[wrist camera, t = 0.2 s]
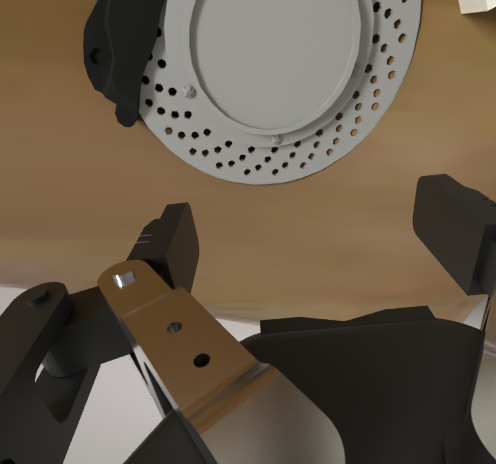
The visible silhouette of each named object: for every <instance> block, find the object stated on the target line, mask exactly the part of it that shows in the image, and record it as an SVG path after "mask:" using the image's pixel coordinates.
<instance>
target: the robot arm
mask: <svg viewBox="0 0 496 464" xmlns="http://www.w3.org/2000/svg"><path fill="white" fill-rule="evenodd" d="M413 228H414V231H415V233H416V235H417V236H418V237H419V239H420V240H421V241H422V242H423V243H424V245H425V246H426V247H427V248H428V249H429V251H430V252H431V253H432V254H433V255H434V256H435V258H436V259H437V260H438V261H439V262H440V264H441V265H442V266H443V267H444V268H445V269H446V271H447V272H448V273H449V274H450V275H451V277H452V278H453V279H454V280H455V281H456V283H457V284H458V285H459V286H460V287H461V288H462V290H463V291H464V292H465V293H466V294H467V296H469V295H480V294H488V295H489V297H488V300H487V304H486V307H485V311H484V315H483V319H482V323H481V328H480V330H479V329H477V328H474V327H472V326H468V325H466V324H462V323H459V322H455V321H450V320H445V319H439V318H435V317H434V315H433V314H432V312H431V311H430V309H429V308H428V306H418V307H407V308H395V309H385V310H382V311H378V312H375V313H371V314H368V315H365V316H361V317H358V318H355V319H351V320H348V321H336V320H326V319H316V318H306V317H294V318H283V319H271V320H260V328H261V333H258V334H255V335H252V336H250V337H248V338H245V339H244V340H242V341H240V342H238V341H237V340H236V339H235V338H234V337H233V336H232V335H231V334H230V333H229V332H228V331H227V330H226V329H225V328H224V327H223V326H222V325H221V324H220V323H219V322H218V321H217V320H216V319H215V318H214V317H213V316H212V315H211V314H210V313H209V312H208V311H207V310H206V309H205V308H204V307H203V306H202V305H201V304H200V303H199V302H198V301H197V300H196V299H195V298H194V297H193V296H192V295H191V294H190V293H191V289H192V285H193V280H194V276H195V272H196V267H197V263H198V259H199V242H198V237H197V233H196V229H195V224H194V220H193V216H192V211H191V208H190V205H189V203H188V202H186V203H178V204H169V205H167V206H166V208H165V210H164V212H163V214H162V216H161V218H160V219H154V220H153V221H152V222H150V223H149V224H148V225H147V226H145V227H144V229H143V231H142V233H141V235H140V237H139V238H138V240H137V243H136V244H135V245H134V247H133V249H132V251H131V253H130V254H129V256H128V258H127V260H126V261H124V262H121V263H118V264H115V265H113V266H111V267H110V268H108V269H107V270H105V271H104V272H103V273H102V274H101V275H100V277H99V279H98V286H97V287H94V288H90V289H87V290H84V291H80V292H77V293H74V294H70V295H69V293H68V291H67V289H66V287H65V285H64V284H62V283H59V282H49V283H44V284H40V285H38V286H35V287H33V288H30V289H28V290H27V291H25V292H23V293H22V294H20V295H19V296H18V297H16V299H14V300H13V301H12V302H11V304H10V305H9V306H8V307H7V308H6V310H5V311H4V312H3V313H2V315H1V316H0V464H63V461H64V459H65V456H66V454H67V451H68V448H69V446H70V443H71V441H72V438H73V436H74V433H75V430H76V428H77V425H78V423H79V420H80V417H81V415H82V412H83V409H84V407H85V404H86V402H87V399H88V397H89V394H90V391H91V389H92V386H93V384H94V381H95V378H96V376H97V373H98V371H99V368H100V365H101V364H102V363H105V362H108V361H111V360H114V359H117V358H119V357H122V356H125V355H129V357H130V359H131V361H132V363H133V364H134V366H135V368H136V370H137V372H138V373H139V375H140V377H141V379H142V380H143V382H144V384H145V386H146V387H147V389H148V391H149V393H150V394H151V396H152V398H153V400H154V402H155V404H156V406H157V408H158V410H159V412H160V414H161V416H162V418H163V420H162V421H161V422H160V423H159V424H158V425H157V426H156V428H155V429H154V430H153V431H152V432H151V433H150V434H149V435H148V436H147V438H146V439H145V440H144V441H143V442H142V443H141V444H140V445H139V446H138V448H137V449H136V450H135V451H134V452H133V453H132V454H131V456H129V457H128V459H127V460H126V461H125V462H124V463H123V464H496V203H495V202H494V201H492V200H489V198H488V197H486V196H485V195H483V194H482V193H480V192H479V191H476V190H474V189H471V188H468V187H465V186H463V185H461V184H460V183H458V182H457V181H456V180H454V179H453V178H451V177H450V176H448V175H447V174H438V175H429V176H422V177H420V178H419V180H418V183H417V189H416V197H415V204H414V212H413ZM41 363H42V365H43V366H44V368H43V370H42V371H41V373H40V375H39V377H38V379H37V380H36V382H35V377H36V373H37V370H38V368H39V366H40V364H41Z"/></svg>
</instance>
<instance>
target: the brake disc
mask: <svg viewBox="0 0 496 464" xmlns="http://www.w3.org/2000/svg"><path fill="white" fill-rule="evenodd" d="M375 2H377V3H378V5H379V9H378V11H377V12H374V11H373V5H374V3H375ZM387 9H390V13H391V15H390V16H389V17H388V18H387V19H385V16H384V13H385V10H387ZM420 10H421V0H406V2H404V3H402V0H98V1H97V3H96V5H95V7H94V9H93V11H92V13H91V15H90V17H89V18H88V20H87V22H86V25H85V29H84V42H83V48H84V64H85V67H86V70H87V74H88V77H89V79H90V81H91V83H92V85H93V86H94V88H95V90H97V91H100V92H102V93H103V95H104V96H105V97H106V98H107V99H109V100H110V101H112V102H114V103H115V104H117V105H116V111H115V114H116V117H117V120H118V122H119V123H120V124H122V125H123V126H125V127H131V126H133V125H134V123H135V122H136V120H137V119H138V117H139V115H141V117H142V118H143V120H144V121H145V123H146V125H147V126H148V128H149V129H150V130H151V131H152V132H153V133H154V134H155V135H156V136H157V137H158V138H159V139H160V140H161V141H162V142H163V143H164V144H165V145H166V146H167V148H168V149H169V150H171V151H172V152H173V153H175V154H176V155H177V156H178V157H180V158H181V159H182V160H184V161H185V162H187V163H188V164H190V165H192V166H194V167H195V168H197V169H199V170H201V171H203V172H205V173H208V174H210V175H212V176H215V177H218V178H221V179H225V180H228V181H232V182H239V183H246V184H253V185H258V184H273V183H283V182H288V181H292V180H296V179H300V178H303V177H305V176H308V175H310V174H313V173H315V172H318V171H320V170H323V169H324V168H326V167H327V166H329V165H330V164H332V163H334V162H335V161H337V160H338V159H340V158H342V157H343V156H345V155H346V154H347V153H349V152H350V151H351V150H352V149H353V148H354V147H355V146H357V145H358V144H359V143H360V142H361V141H362V140H363V139H364V138H365V137H366V136H367V135H368V134H369V133H370V132H371V131H372V130H373V129H374V127H375V126H376V125H377V123H378V122H379V120H380V119H381V117H382V116H383V115H384V113H385V112H386V110H387V109H388V107H389V106H390V104H391V103H392V102H393V100H394V98H395V96H396V94H397V92H398V90H399V88H400V85H401V83H402V81H403V79H404V77H405V75H406V73H407V70H408V67H409V64H410V61H411V58H412V56H413V51H414V46H415V41H416V37H417V32H418V27H419V22H420ZM398 19H399V21H400V25H399V27H398V28H397V29H395V28H394V22H395V21H397V20H398ZM161 32H162V35H161ZM402 33H403V34H404V35H405V39H404V41H403V42H402V43H400V42H399V40H398V38H399V36H400V35H401V34H402ZM375 34H377V35H378V41H377V42H375V43H372V37H373V36H374V35H375ZM383 44H386V45H387V48H386V51H385V52H383V53H382V52H381V51H380V50H381V46H382V45H383ZM390 56H392V57H393V62H392V63H391V64H390V65H387V59H388V58H389V57H390ZM160 59H163V60H165V62H166V67H164V68H161V67H160V66H159V64H158V61H159V60H160ZM368 64H370V66H371V68H370V70H369V71H368V72H367V73H365V68H366V66H367V65H368ZM391 71H394V73H395V76H394V77H393V78H392V79H389V78H388V73H389V72H391ZM372 76H376V78H377V81H376V82H375V83H373V84H372V83H371V82H370V79H371V78H372ZM147 77H148V78H149V80H150V82H149V83H148V84H146V78H147ZM156 84H161V85H162V86H163V90H162V91H161V92H160V91H158V90H156ZM169 88H175V89H176V90H177V93H176V94H175V95H171V94H170V93H169ZM376 89H380V94H379V96H377V97H374V94H373V92H374V91H375V90H376ZM355 91H358V96H357V97H356V98H353V97H352V96H353V94H354V92H355ZM146 99H151V100H152V102H153V105H152V106H149V105H147V104H146V103H145V101H146ZM357 103H361V104H362V106H361V109H360V110H355V106H356V104H357ZM374 103H378V104H379V107H378V109H377V110H375V111H374V110H372V108H371V106H372V105H373V104H374ZM158 107H162V108H164V109H165V113H164V114H160V113H158V110H157V108H158ZM172 111H178V113H179V117H178V118H177V117H173V116H172V114H171V113H172ZM186 111H190V112H191V113H192V116H191V118H188V117H185V115H184V113H185V112H186ZM339 112H340V113H342V115H341V118H339V119H337V120H336V118H335V116H336V115H337V114H338V113H339ZM358 116H361V120H362V121H361V122H360V123H358V124H356V123H355V118H356V117H358ZM338 125H341V126H342V129H341V130H340V131H336V127H337V126H338ZM166 127H171V128H172V130H173V132H172V134H171V133H167V132H166V130H165V129H166ZM207 128H208V129H209V130H211V133H210V135H205V133H204V129H207ZM319 129H322V133H321V134H320V135H316V132H317V131H318V130H319ZM353 129H357V134H356V135H355V136H351V134H350V132H351V131H352V130H353ZM179 132H184V133H185V135H186V136H185V137H184V138H181V137H179V135H178V133H179ZM192 132H197V133H198V134H199V137H197V138H194V137H192ZM335 138H339V143H337V144H333V140H334V139H335ZM228 140H229V141H232V145H231V146H230V147H229V146H226V145H225V142H226V141H228ZM297 141H301V142H300V145H299V146H297V147H296V146H294V144H295V142H297ZM316 141H319V142H320V143H319V146H317V147H314V143H315V142H316ZM217 146H219V147H221V148H222V149H221V151H220V152H216V151H215V150H214V148H215V147H217ZM251 146H252V147H254V148H255V150H254V151H253V152H249V151H248V148H249V147H251ZM272 147H278V150H277V151H276V152H272V151H271V149H272ZM191 148H194V149H196V150H197V152H196V153H195V154H192V153H190V149H191ZM206 149H207V150H208V151H209V153H208V155H207V156H206V155H204V154H203V153H202V151H203V150H206ZM328 149H332V150H333V152H332V153H331V154H330V155H327V152H326V151H327V150H328ZM291 152H295V153H296V155H295V156H294V157H290V156H289V155H290V153H291ZM310 153H314V155H315V156H314V157H313V158H308V156H309V154H310ZM240 155H245V156H246V157H245V160H242V159H239V157H240ZM268 156H270V157H271V160H270V161H268V162H267V161H265V157H268ZM231 160H233V161H234V162H235V164H234V165H233V166H231V165H228V162H229V161H231ZM218 162H221V163H222V164H223V166H222V167H219V168H218V167H217V166H216V164H217V163H218ZM284 162H288V163H289V164H288V166H287V167H283V166H282V164H283V163H284ZM302 162H305V163H306V165H305V166H304V167H300V165H301V163H302ZM258 164H260V165H261V168H260V169H259V170H257V169H255V166H256V165H258ZM246 169H249V170H250V171H251V172H250V173H249V174H244V171H245V170H246ZM274 169H278V170H279V171H278V173H276V174H274V173H272V171H273V170H274Z"/></svg>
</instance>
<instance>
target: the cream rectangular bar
mask: <svg viewBox="0 0 496 464" xmlns="http://www.w3.org/2000/svg"><path fill="white" fill-rule="evenodd" d="M459 5H460V9H461V14H466V13H474V12H483V11H489V10H490V9H492V8H494V7H496V0H459Z"/></svg>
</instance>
